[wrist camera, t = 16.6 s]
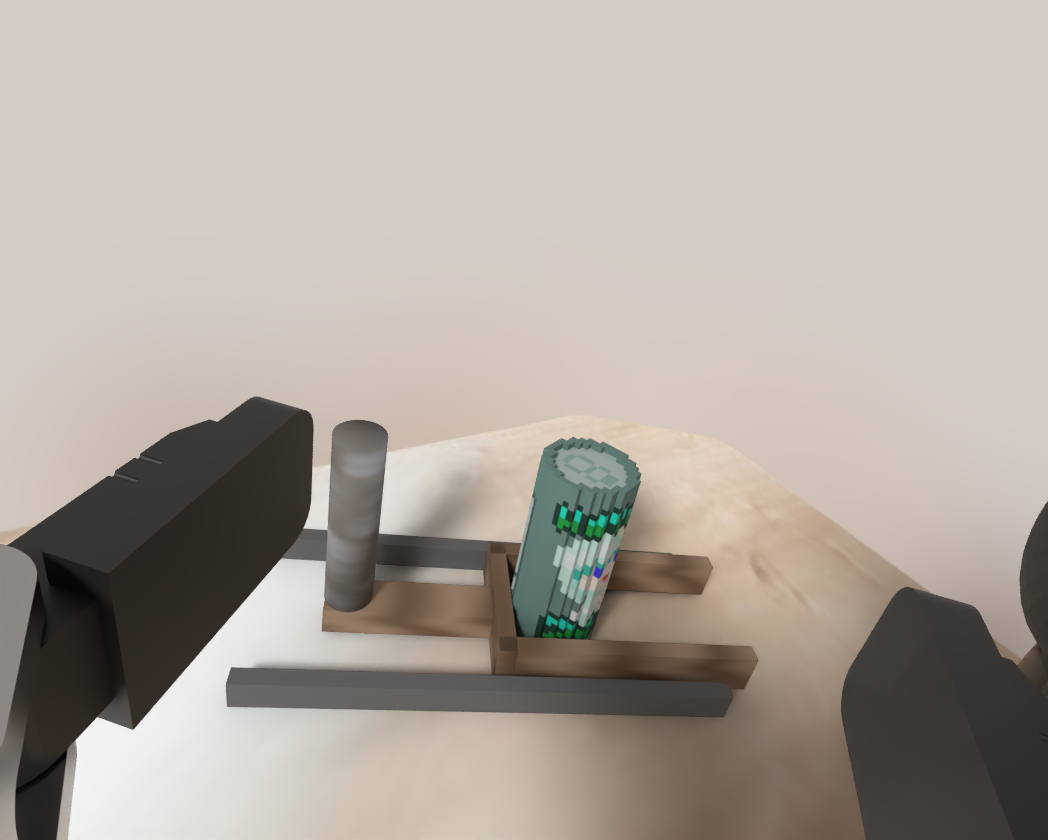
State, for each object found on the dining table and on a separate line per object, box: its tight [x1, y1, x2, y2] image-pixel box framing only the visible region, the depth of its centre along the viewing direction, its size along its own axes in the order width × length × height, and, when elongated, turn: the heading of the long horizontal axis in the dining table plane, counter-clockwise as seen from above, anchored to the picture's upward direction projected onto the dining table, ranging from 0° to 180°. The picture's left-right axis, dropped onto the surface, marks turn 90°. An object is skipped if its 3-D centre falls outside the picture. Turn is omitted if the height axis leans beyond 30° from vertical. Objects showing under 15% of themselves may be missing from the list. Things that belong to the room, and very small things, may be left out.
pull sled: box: [322, 420, 758, 689], centre depth 47 cm, size 30×10×15 cm, turn 96°
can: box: [511, 437, 641, 640], centre depth 47 cm, size 6×6×15 cm
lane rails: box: [226, 529, 733, 717], centre depth 50 cm, size 32×14×2 cm, turn 96°
